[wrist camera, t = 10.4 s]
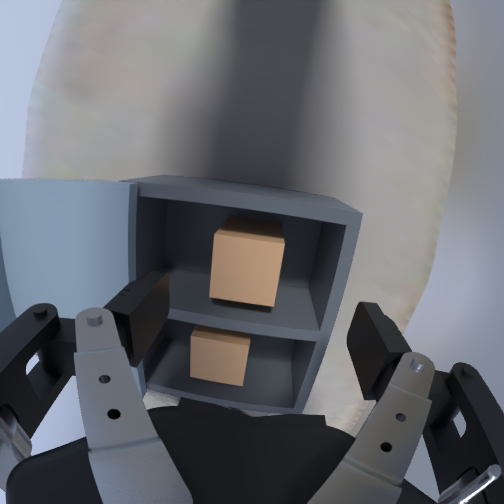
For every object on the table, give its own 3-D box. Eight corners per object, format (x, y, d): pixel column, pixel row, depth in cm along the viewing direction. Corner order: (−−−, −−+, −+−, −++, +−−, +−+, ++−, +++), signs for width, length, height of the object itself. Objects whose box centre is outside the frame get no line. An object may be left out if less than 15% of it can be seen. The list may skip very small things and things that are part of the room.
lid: (-2, 178, 15) (-32, 185, 11) (138, 182, 14) (104, 189, 11) (23, 340, 20) (3, 357, 16) (146, 391, 19) (131, 421, 16)
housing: (164, 175, 22) (119, 180, 15) (334, 198, 21) (362, 213, 14) (160, 336, 27) (131, 383, 20) (296, 359, 26) (300, 415, 19)
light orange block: (230, 215, 21) (214, 234, 16) (281, 222, 21) (284, 244, 16) (225, 264, 23) (209, 296, 17) (273, 271, 23) (273, 306, 17)
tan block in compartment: (209, 296, 24) (190, 335, 18) (255, 304, 24) (249, 346, 18) (206, 334, 25) (190, 376, 19) (248, 341, 25) (242, 386, 19)
